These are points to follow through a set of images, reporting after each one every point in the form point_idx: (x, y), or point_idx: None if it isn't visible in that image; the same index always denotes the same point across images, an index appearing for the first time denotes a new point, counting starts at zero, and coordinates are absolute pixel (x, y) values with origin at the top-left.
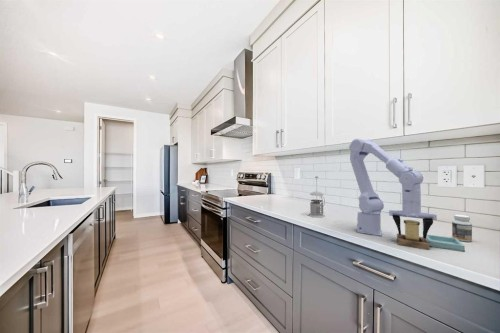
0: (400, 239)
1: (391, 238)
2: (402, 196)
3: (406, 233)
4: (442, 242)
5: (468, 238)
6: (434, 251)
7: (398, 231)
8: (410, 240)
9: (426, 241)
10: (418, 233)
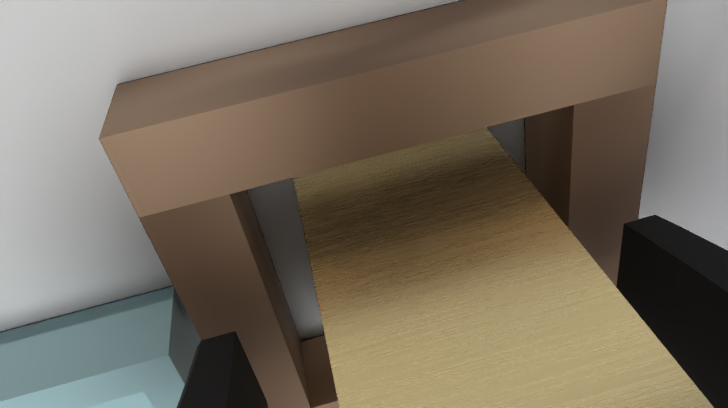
0: (620, 58)
1: None
2: None
3: (567, 247)
4: None
5: None
6: (19, 70)
7: (720, 249)
8: (438, 179)
9: (191, 295)
10: (337, 344)
